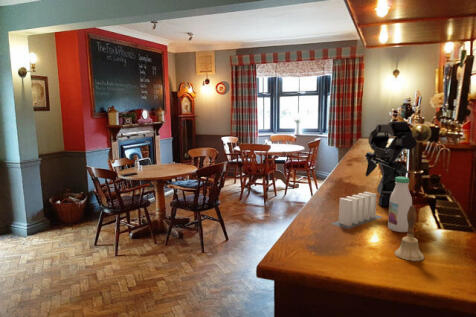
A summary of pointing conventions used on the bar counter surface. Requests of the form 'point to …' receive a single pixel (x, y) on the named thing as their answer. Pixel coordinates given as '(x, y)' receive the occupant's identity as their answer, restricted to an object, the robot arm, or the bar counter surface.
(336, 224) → the runner mat
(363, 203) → the domino
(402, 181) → the milk bottle
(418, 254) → the hand bell
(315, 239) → the bar counter surface
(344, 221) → the domino
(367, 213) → the domino
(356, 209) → the domino
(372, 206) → the domino
